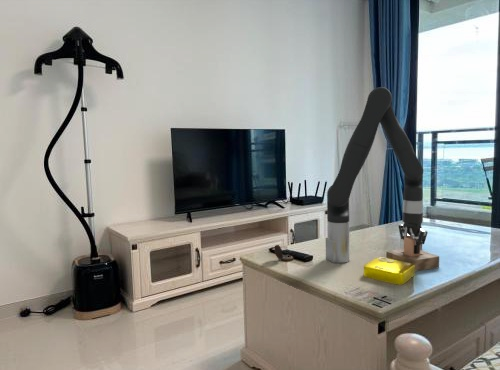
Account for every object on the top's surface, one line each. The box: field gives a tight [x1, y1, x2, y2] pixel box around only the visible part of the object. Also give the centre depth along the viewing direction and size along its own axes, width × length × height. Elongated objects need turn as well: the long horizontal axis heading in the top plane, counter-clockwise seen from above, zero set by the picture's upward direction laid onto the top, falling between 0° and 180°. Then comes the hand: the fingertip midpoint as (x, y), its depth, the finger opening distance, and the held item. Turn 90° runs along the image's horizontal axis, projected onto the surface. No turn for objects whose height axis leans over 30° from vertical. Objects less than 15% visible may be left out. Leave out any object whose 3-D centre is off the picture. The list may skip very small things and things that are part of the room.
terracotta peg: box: [403, 237, 421, 257], centre depth 145 cm, size 4×4×8 cm
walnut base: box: [385, 248, 440, 272], centre depth 146 cm, size 14×14×4 cm
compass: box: [273, 244, 294, 262], centre depth 158 cm, size 8×8×7 cm
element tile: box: [363, 256, 416, 286], centre depth 135 cm, size 15×15×5 cm
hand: (412, 251), depth 146 cm, fingers closed on terracotta peg, 4 cm apart
